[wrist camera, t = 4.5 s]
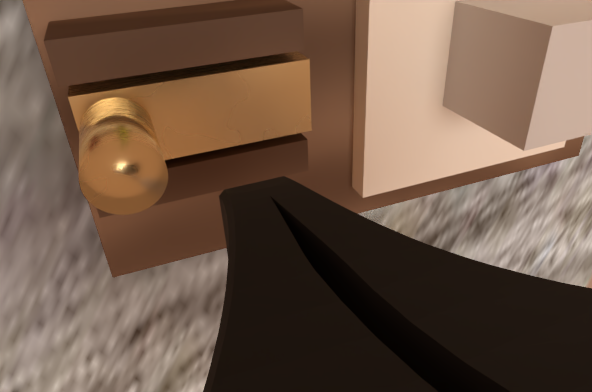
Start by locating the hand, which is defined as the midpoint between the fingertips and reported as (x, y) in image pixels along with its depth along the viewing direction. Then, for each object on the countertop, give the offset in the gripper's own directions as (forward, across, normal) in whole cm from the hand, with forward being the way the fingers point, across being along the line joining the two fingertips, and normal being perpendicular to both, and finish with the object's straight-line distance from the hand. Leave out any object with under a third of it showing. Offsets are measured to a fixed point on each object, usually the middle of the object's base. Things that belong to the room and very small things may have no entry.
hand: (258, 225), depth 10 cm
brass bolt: (+7, 0, 0) cm, 7 cm away
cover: (+9, -12, 0) cm, 15 cm away
